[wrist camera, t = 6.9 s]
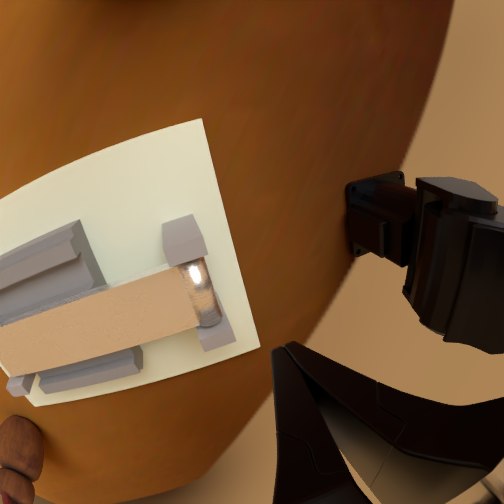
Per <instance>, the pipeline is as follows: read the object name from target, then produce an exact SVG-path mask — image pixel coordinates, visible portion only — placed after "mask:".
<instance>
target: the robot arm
mask: <svg viewBox="0 0 504 504" xmlns="http://www.w3.org/2000/svg"><path fill="white" fill-rule="evenodd" d="M416 186H417V189H414V188H411V187H407V186H405V180H404V173H403V172H402V171H394V172H390V173H386V174H381V175H377V176H373V177H369V178H365V179H361V180H357V181H353V182H350V183H348V184H347V186H346V195H347V205H348V223H349V236H350V241H351V253H352V255H354V256H355V257H359V256H362V255H364V254H367V253H369V252H372V253H374V254H376V255H377V256H379V257H381V258H383V257H385V258H387V259H388V260H390V261H392V262H393V263H395V264H397V265H398V266H400V267H405V266H408V269H407V275H406V280H405V285H404V286H403V290H402V293H403V295H404V296H405V297H406V299H407V300H408V302H409V303H410V304H411V306H412V308H413V309H414V311H415V312H416V313H417V315H418V316H419V317H420V319H419V321H420V323H421V324H422V325H424V326H426V327H427V328H428V329H430V330H431V331H433V332H435V333H437V334H440V335H442V336H444V337H443V341H444V342H452V343H462V344H466V345H470V346H472V347H475V348H477V349H480V350H482V351H484V352H486V353H488V354H503V353H504V207H503V206H500V205H498V198H497V197H495V196H494V195H493V194H491V193H490V192H488V191H487V190H486V189H484V188H483V187H481V186H480V185H478V184H477V183H475V182H472V181H467V180H463V179H458V178H454V177H423V178H416ZM352 187H353V191H352V190H351V188H352ZM357 250H358V251H357ZM356 251H357V252H356ZM270 353H271V366H272V379H273V393H274V406H275V420H276V431H277V433H276V436H277V469H276V479H275V487H274V496H273V504H373V503H372V502H371V501H370V500H369V499H368V498H367V496H366V495H365V494H364V493H363V492H362V491H361V489H360V488H359V487H358V485H357V484H356V482H355V481H354V479H353V477H352V475H351V473H350V472H349V469H348V467H347V465H346V463H345V461H344V459H343V457H342V455H341V453H340V451H339V449H340V450H341V452H342V453H343V455H344V456H345V457H346V459H347V460H348V461H349V463H350V464H351V465H352V467H353V468H354V469H355V470H356V472H357V473H358V474H359V476H360V477H361V478H362V480H363V481H364V482H365V483H366V485H367V486H368V487H369V488H370V490H371V491H372V492H373V494H374V495H375V496H376V497H377V499H378V500H379V501H380V502H381V503H382V504H504V397H501V398H498V399H494V400H489V401H485V402H481V403H476V404H471V405H465V406H454V405H448V404H444V403H440V402H436V401H432V400H428V399H425V398H421V397H418V396H414V395H411V394H408V393H405V392H402V391H399V390H397V389H394V388H392V387H389V386H387V385H384V384H382V383H380V382H377V381H376V380H373V379H371V378H369V377H367V376H365V375H363V374H360V373H358V372H356V371H354V370H352V369H350V368H348V367H346V366H343V365H341V364H339V363H337V362H335V361H333V360H331V359H329V358H327V357H325V356H323V355H321V354H319V353H317V352H315V351H313V350H311V349H309V348H307V347H305V346H303V345H301V344H299V343H297V342H295V341H291V342H289V343H287V344H284V345H283V347H282V346H279V347H277V348H274V349H272V350H271V351H270ZM338 448H339V449H338Z"/></svg>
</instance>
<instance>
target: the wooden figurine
mask: <svg viewBox="0 0 504 504" xmlns="http://www.w3.org/2000/svg"><path fill="white" fill-rule="evenodd" d="M43 460H44V451H43V441H42V435H41V433H40V431H39V430H38V428H37V427H36V426H35V425H34V424H33V423H32V422H31V421H29V420H27V419H26V418H23V417H20V416H11V417H8V418H7V419H6V420H5V421H4V422H3V423H2V425H1V426H0V465H1V466H2V467H3V468H0V494H1V495H2V499H3V504H33V501H34V496H35V489H34V486H33V484H32V483H31V482H35V481H36V480H38V479H39V477H40V474H41V472H42V467H43Z"/></svg>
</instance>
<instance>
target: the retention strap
mask: <svg viewBox="0 0 504 504" xmlns="http://www.w3.org/2000/svg"><path fill="white" fill-rule="evenodd" d="M222 317H223V313H222V310H221V308H220V305H219V302H218V299H217V296H216V293H215V290H214V287H213V283H212V280H211V277H210V274H209V271H208V268H207V265H206V262H205V258H204V256H203V257H200V258H197V259H194V260H191V261H188V262H185V263H182V264H179V265H176V266H173V267H169V264H168V263H166V264H163V265H161V266H158V267H155V268H152V269H149V270H146V271H143V272H140V273H137V274H134V275H131V276H128V277H125V278H122V279H119V280H117V281H114V282H111V283H108V284H105V285H102V286H99V287H96V288H93V289H91V290H88V291H85V292H82V293H79V294H76V295H74V296H71V297H68V298H65V299H62V300H60V301H57V302H54V303H51V304H48V305H46V306H43V307H40V308H37V309H35V310H32V311H29V312H26V313H24V314H21V315H18V316H15V317H13V318H10V319H7V320H5V321H2V322H0V362H1V364H2V365H3V366H4V368H5V369H6V370H7V371H8V373H9V374H10V375H11V376H12V377H16V376H21V375H25V374H30V373H34V372H39V371H43V370H47V369H51V368H55V367H60V366H64V365H68V364H72V363H75V362H79V361H83V360H87V359H91V358H94V357H98V356H102V355H105V354H109V353H112V352H116V351H119V350H123V349H126V348H130V347H133V346H137V345H140V344H143V343H147V342H150V341H153V340H156V339H160V338H163V337H166V336H169V335H172V334H175V333H178V332H182V331H185V330H188V329H191V328H194V327H197V326H203V327H208V326H213V325H215V324H217V323H218V322H219V321H220V320H221V319H222Z"/></svg>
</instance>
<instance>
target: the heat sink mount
mask: <svg viewBox="0 0 504 504" xmlns="http://www.w3.org/2000/svg"><path fill="white" fill-rule="evenodd" d="M203 256H204V258H205V262H206V265H207V268H208V271H209V274H210V277H211V280H212V283H213V287H214V290H215V293H216V296H217V299H218V302H219V305H220V308H221V310H222V313H223V317H222V319H221V320H220V321H219V322H218V323H217V324H215V325H213V326H208V327H203V326H197V327H194V328H191V329H188V330H185V331H182V332H178V333H175V334H172V335H169V336H166V337H163V338H160V339H156V340H153V341H150V342H147V343H143V344H140V345H137V346H133V347H130V348H126V349H123V350H119V351H116V352H112V353H109V354H105V355H102V356H98V357H94V358H91V359H87V360H83V361H79V362H75V363H72V364H68V365H64V366H60V367H55V368H51V369H47V370H43V371H39V372H34V373H30V374H25V375H21V376H16V377H12V376H11V375H10V374H9V373H8V371H7V370H6V369H5V368H4V366H3V365H2V364H1V362H0V366H1V368H2V369H3V370H4V372H5V373H6V374H7V375H8V377H9V381H8V383H7V386H6V389H7V390H8V391H9V392H10V393H11V395H12V396H13V397H17V396H23V395H25V397H26V398H27V399H28V400H29V401H30V402H31V403H32V404H33V405H34V406H35V407H36V406H43V405H50V404H56V403H62V402H68V401H73V400H78V399H84V398H89V397H93V396H98V395H103V394H107V393H112V392H116V391H120V390H124V389H128V388H132V387H136V386H140V385H144V384H148V383H151V382H155V381H159V380H162V379H166V378H169V377H173V376H176V375H179V374H183V373H186V372H189V371H192V370H195V369H199V368H202V367H205V366H208V365H211V364H214V363H217V362H220V361H223V360H226V359H228V358H231V357H234V356H237V355H240V354H242V353H245V352H248V351H251V350H253V349H256V348H259V347H261V346H260V343H259V339H258V336H257V332H256V328H255V325H254V321H253V317H252V314H251V310H250V306H249V303H248V299H247V295H246V291H245V288H244V284H243V280H242V277H241V273H240V269H239V265H238V261H237V258H236V254H235V250H234V246H233V242H232V239H231V235H230V231H229V227H228V223H227V219H226V215H225V211H224V207H223V203H222V200H221V196H220V192H219V188H218V184H217V180H216V176H215V172H214V168H213V164H212V160H211V155H210V151H209V147H208V143H207V139H206V135H205V131H204V127H203V123H202V118H201V119H197V120H193V121H189V122H185V123H182V124H178V125H175V126H171V127H168V128H164V129H161V130H158V131H154V132H151V133H148V134H145V135H142V136H139V137H136V138H133V139H130V140H127V141H124V142H122V143H119V144H116V145H113V146H111V147H108V148H106V149H103V150H100V151H98V152H95V153H93V154H90V155H88V156H86V157H83V158H81V159H79V160H76V161H74V162H72V163H70V164H67V165H65V166H63V167H61V168H59V169H57V170H54V171H52V172H50V173H48V174H46V175H44V176H42V177H40V178H38V179H36V180H34V181H33V182H31V183H29V184H27V185H25V186H23V187H21V188H20V189H18V190H16V191H14V192H12V193H11V194H9V195H7V196H6V197H4V198H2V199H1V200H0V322H2V321H5V320H7V319H10V318H13V317H15V316H18V315H21V314H24V313H26V312H29V311H32V310H35V309H37V308H40V307H43V306H46V305H48V304H51V303H54V302H57V301H60V300H62V299H65V298H68V297H71V296H74V295H76V294H79V293H82V292H85V291H88V290H91V289H93V288H96V287H99V286H102V285H105V284H108V283H111V282H114V281H117V280H119V279H122V278H125V277H128V276H131V275H134V274H137V273H140V272H143V271H146V270H149V269H152V268H155V267H158V266H161V265H163V264H166V263H168V264H169V267H173V266H176V265H179V264H182V263H185V262H188V261H191V260H194V259H197V258H200V257H203Z"/></svg>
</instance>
